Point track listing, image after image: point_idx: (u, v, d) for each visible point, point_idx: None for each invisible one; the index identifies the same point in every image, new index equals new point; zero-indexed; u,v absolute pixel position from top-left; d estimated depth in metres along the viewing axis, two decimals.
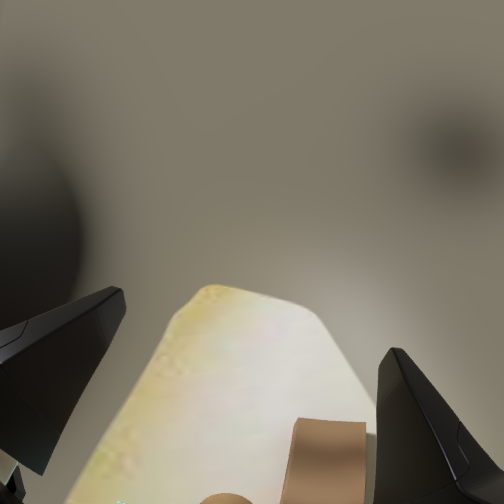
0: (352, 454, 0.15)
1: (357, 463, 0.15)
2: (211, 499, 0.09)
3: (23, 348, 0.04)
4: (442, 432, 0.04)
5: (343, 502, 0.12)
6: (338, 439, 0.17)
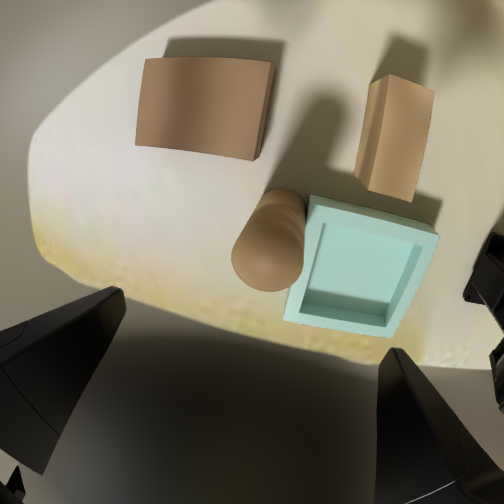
0: (187, 74, 0.13)
1: (201, 68, 0.13)
2: (243, 277, 0.12)
3: (23, 348, 0.04)
4: (442, 432, 0.04)
5: (259, 87, 0.13)
6: (163, 93, 0.14)
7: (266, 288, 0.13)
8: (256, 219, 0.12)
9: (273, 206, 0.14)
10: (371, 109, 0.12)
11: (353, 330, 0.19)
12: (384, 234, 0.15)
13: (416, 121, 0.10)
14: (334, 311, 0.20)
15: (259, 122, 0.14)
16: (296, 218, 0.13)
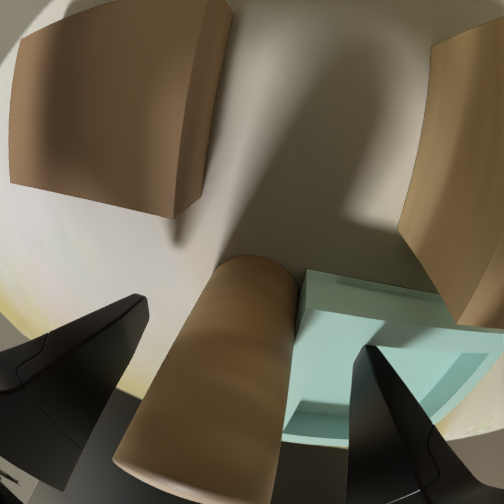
0: (61, 47, 0.05)
1: (81, 30, 0.04)
2: None
3: (45, 364, 0.04)
4: (412, 435, 0.04)
5: (182, 41, 0.04)
6: (32, 91, 0.05)
7: (200, 502, 0.04)
8: (157, 406, 0.04)
9: (211, 346, 0.05)
10: (454, 95, 0.04)
11: None
12: (439, 348, 0.07)
13: None
14: (335, 423, 0.11)
15: (182, 126, 0.05)
16: (266, 379, 0.05)
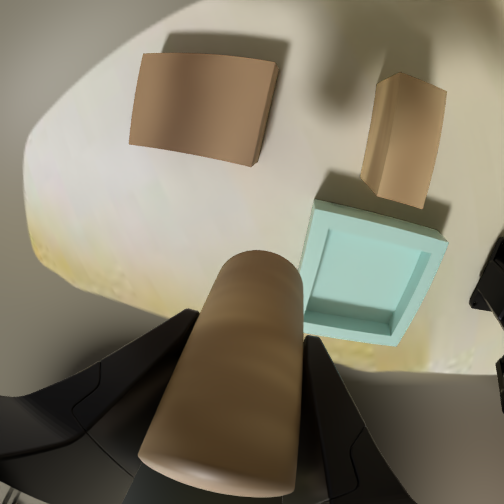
0: (186, 71, 0.12)
1: (200, 65, 0.12)
2: (174, 479, 0.04)
3: (106, 400, 0.04)
4: (336, 436, 0.04)
5: (261, 88, 0.12)
6: (160, 91, 0.13)
7: (221, 492, 0.05)
8: (184, 396, 0.04)
9: (232, 335, 0.06)
10: (379, 109, 0.12)
11: (357, 339, 0.18)
12: (392, 241, 0.14)
13: (428, 123, 0.09)
14: (338, 320, 0.19)
15: (259, 126, 0.13)
16: (285, 365, 0.05)
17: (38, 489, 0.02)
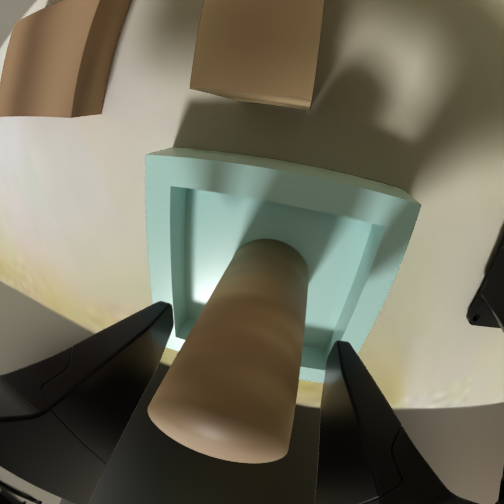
0: (35, 28, 0.06)
1: (45, 17, 0.05)
2: (179, 440, 0.05)
3: (72, 382, 0.04)
4: (376, 437, 0.04)
5: (87, 19, 0.06)
6: (17, 55, 0.06)
7: (221, 457, 0.05)
8: (194, 353, 0.05)
9: (240, 305, 0.07)
10: None
11: None
12: (293, 201, 0.08)
13: None
14: None
15: (80, 63, 0.07)
16: (285, 334, 0.06)
17: (5, 458, 0.02)
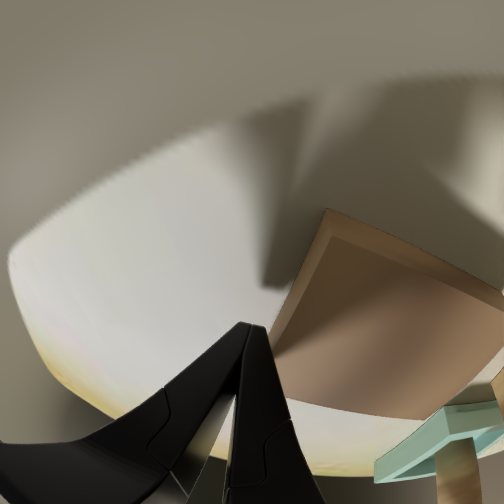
0: (418, 318, 0.06)
1: (447, 313, 0.06)
2: None
3: (180, 431, 0.04)
4: (256, 426, 0.04)
5: (490, 354, 0.06)
6: (351, 338, 0.07)
7: None
8: (464, 502, 0.06)
9: (471, 479, 0.07)
10: None
11: (430, 475, 0.12)
12: (491, 431, 0.08)
13: None
14: (418, 466, 0.13)
15: (459, 389, 0.07)
16: (479, 480, 0.07)
17: None
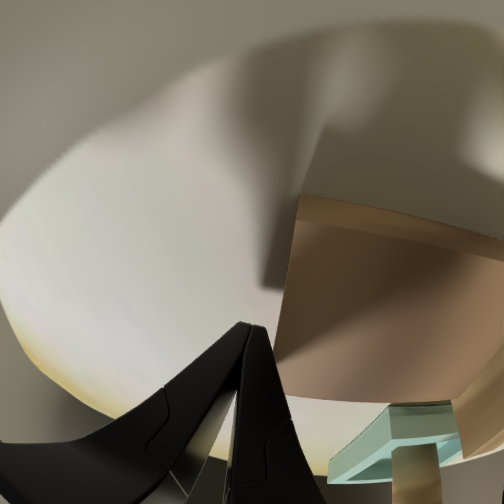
0: (419, 290, 0.05)
1: (451, 279, 0.05)
2: None
3: (179, 431, 0.04)
4: (257, 425, 0.04)
5: None
6: (350, 325, 0.06)
7: None
8: None
9: (428, 490, 0.07)
10: None
11: None
12: (453, 438, 0.09)
13: None
14: (378, 469, 0.13)
15: (488, 359, 0.06)
16: (440, 492, 0.07)
17: None
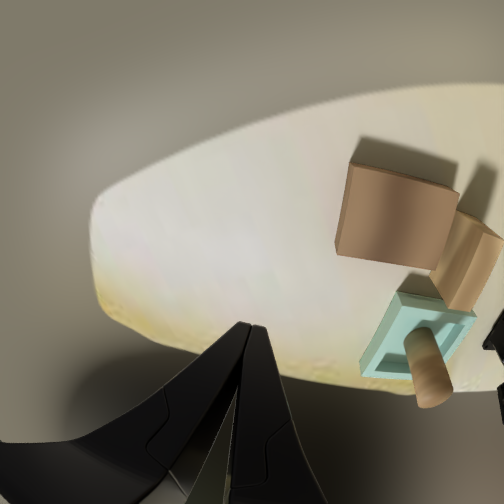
0: (398, 195, 0.15)
1: (410, 191, 0.15)
2: (420, 405, 0.16)
3: (179, 431, 0.04)
4: (257, 426, 0.04)
5: (450, 214, 0.15)
6: (374, 209, 0.16)
7: (428, 406, 0.16)
8: (433, 375, 0.16)
9: (435, 358, 0.17)
10: (456, 239, 0.15)
11: (408, 378, 0.22)
12: (443, 320, 0.18)
13: (488, 263, 0.13)
14: (396, 366, 0.23)
15: (445, 242, 0.16)
16: (444, 364, 0.17)
17: None
